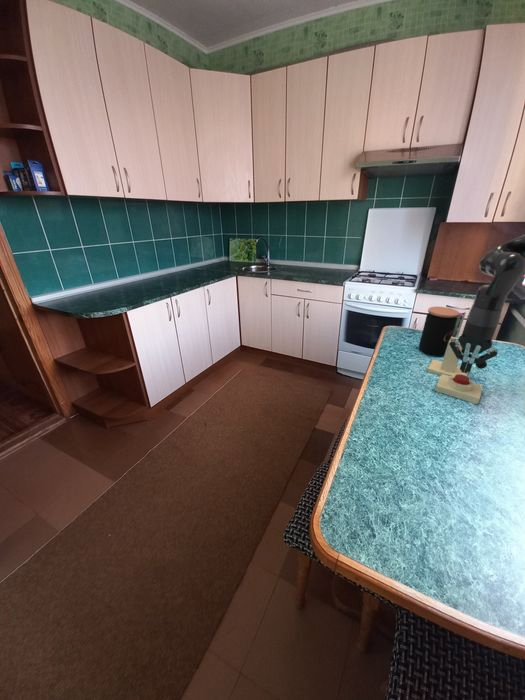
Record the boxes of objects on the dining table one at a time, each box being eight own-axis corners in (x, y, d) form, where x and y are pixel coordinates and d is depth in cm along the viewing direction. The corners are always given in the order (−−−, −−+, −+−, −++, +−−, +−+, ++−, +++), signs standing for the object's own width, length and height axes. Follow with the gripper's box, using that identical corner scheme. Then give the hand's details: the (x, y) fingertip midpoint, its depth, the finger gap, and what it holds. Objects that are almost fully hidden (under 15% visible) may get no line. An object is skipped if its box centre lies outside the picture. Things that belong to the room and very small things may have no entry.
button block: (480, 391, 96) (484, 381, 94) (477, 404, 90) (481, 393, 88) (440, 379, 103) (443, 369, 101) (434, 390, 97) (437, 380, 95)
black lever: (482, 368, 102) (490, 362, 99) (481, 371, 99) (489, 366, 97) (449, 343, 105) (456, 337, 103) (447, 346, 103) (455, 340, 101)
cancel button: (468, 381, 95) (470, 376, 94) (467, 386, 92) (468, 382, 92) (454, 377, 97) (456, 372, 97) (452, 382, 95) (454, 378, 94)
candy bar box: (423, 343, 129) (432, 308, 122) (427, 340, 132) (436, 305, 125) (451, 351, 122) (463, 314, 114) (454, 347, 125) (466, 311, 118)
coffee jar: (443, 359, 116) (455, 317, 107) (414, 352, 122) (424, 311, 114) (449, 350, 123) (462, 310, 114) (422, 343, 129) (432, 304, 121)
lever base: (468, 371, 107) (479, 340, 102) (464, 382, 101) (476, 349, 95) (432, 362, 114) (440, 332, 108) (426, 371, 108) (435, 340, 102)
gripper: (453, 320, 87) (438, 370, 94) (509, 330, 79) (488, 384, 87) (458, 313, 92) (443, 361, 100) (510, 322, 84) (490, 373, 92)
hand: (464, 371), depth 93 cm, fingers closed
